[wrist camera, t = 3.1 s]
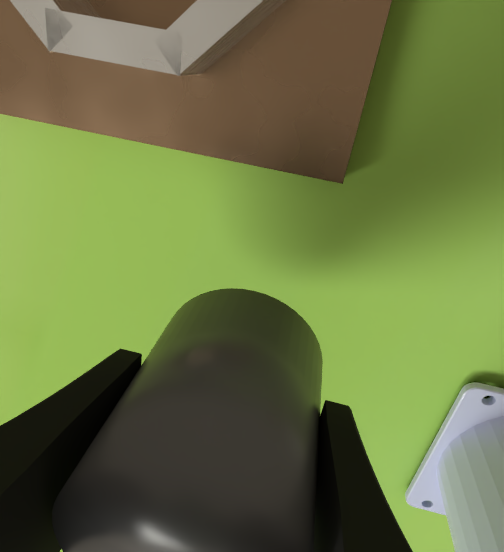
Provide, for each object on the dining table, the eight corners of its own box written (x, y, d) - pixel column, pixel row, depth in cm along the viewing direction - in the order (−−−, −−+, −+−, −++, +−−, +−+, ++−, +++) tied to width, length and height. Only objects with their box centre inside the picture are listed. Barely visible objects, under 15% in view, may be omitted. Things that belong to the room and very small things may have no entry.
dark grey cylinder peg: (341, 311, 12) (344, 516, 6) (302, 433, 14) (282, 657, 9) (170, 271, 12) (40, 433, 7) (161, 397, 14) (60, 589, 9)
